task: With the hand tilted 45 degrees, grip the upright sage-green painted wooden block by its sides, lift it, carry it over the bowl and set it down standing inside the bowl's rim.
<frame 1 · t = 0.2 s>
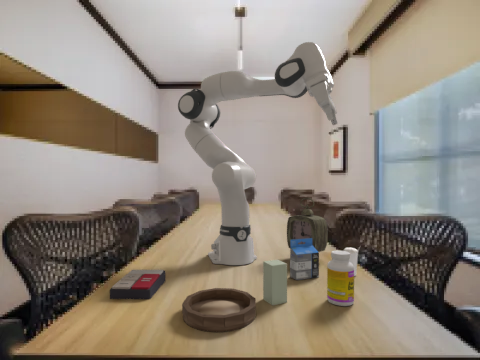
hand: (333, 122, 101), 52 cm above the table, tool tilted 20°, fingers open, 8 cm apart
block: (275, 300, 77), on the table
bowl: (219, 313, 69), on the table
milkshake: (352, 275, 98), on the table
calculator: (139, 291, 85), on the table
supplement bottle: (340, 302, 76), on the table
tabletop clock: (307, 260, 118), on the table
label tape cartridge: (304, 278, 96), on the table
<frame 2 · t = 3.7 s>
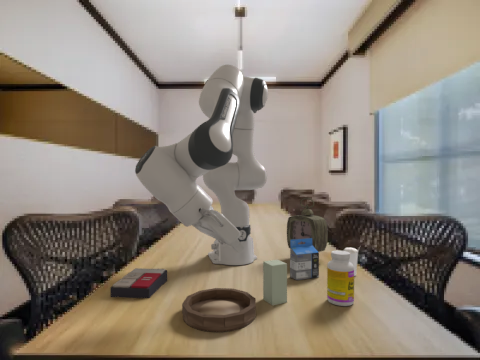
hand: (232, 246, 72), 15 cm above the table, tool tilted 45°, fingers open, 8 cm apart
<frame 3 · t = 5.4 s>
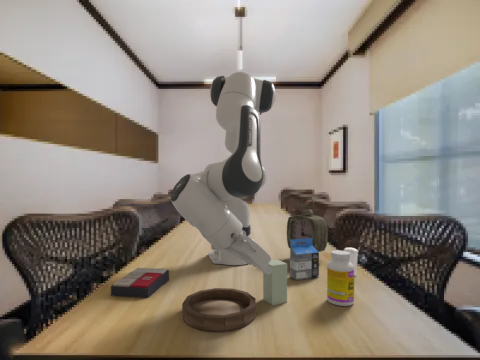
hand: (259, 267, 75), 9 cm above the table, tool tilted 45°, fingers open, 8 cm apart
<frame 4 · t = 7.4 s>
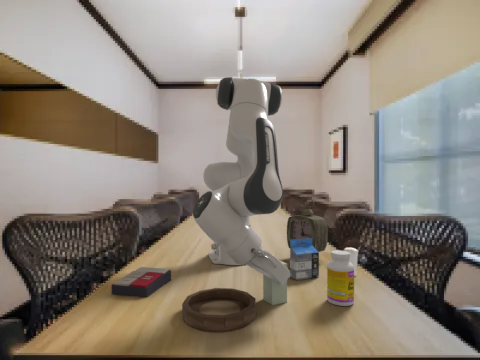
hand: (277, 279, 77), 5 cm above the table, tool tilted 45°, fingers closed on block, 4 cm apart
block: (275, 300, 77), on the table, touching gripper
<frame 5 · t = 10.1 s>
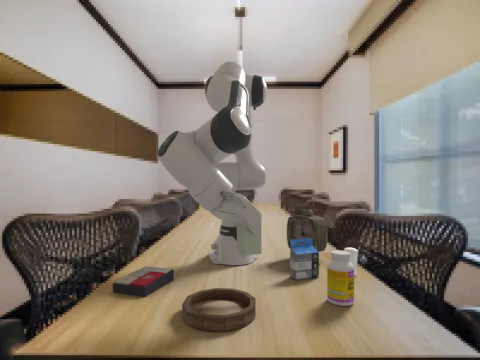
hand: (251, 230, 73), 19 cm above the table, tool tilted 45°, fingers closed on block, 4 cm apart
block: (249, 252, 73), point 14 cm above the table, touching gripper
when the fingers open (7 cm above the table, at t = 13.2 s): block stays where it is, resting on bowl.
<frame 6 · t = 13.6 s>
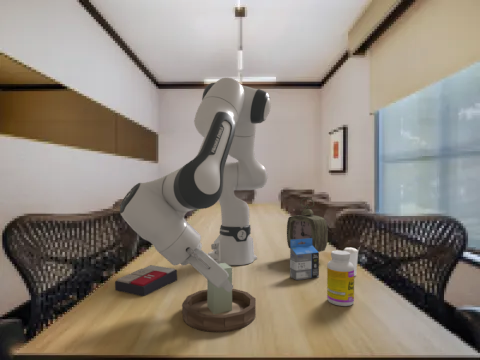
hand: (222, 282, 69), 7 cm above the table, tool tilted 45°, fingers open, 8 cm apart
block: (219, 308, 69), point 1 cm above the table, touching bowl
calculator: (147, 286, 89), on the table
everything else where it was.
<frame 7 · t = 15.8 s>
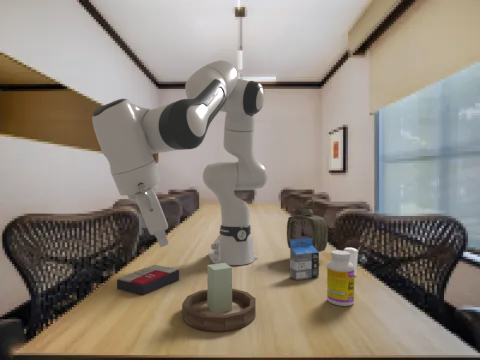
hand: (160, 237, 65), 19 cm above the table, tool tilted 25°, fingers open, 8 cm apart
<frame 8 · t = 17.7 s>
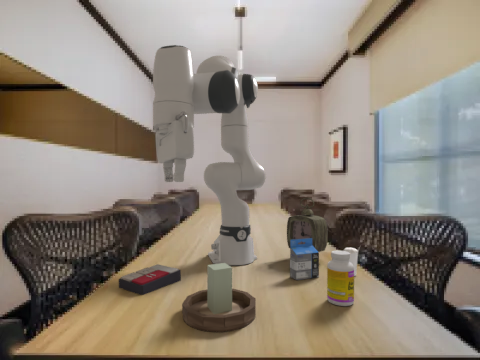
hand: (173, 182, 65), 31 cm above the table, tool pointing down, fingers open, 8 cm apart
at the end: block inside the target area on the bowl (0.1 cm from its centre), point 1.2 cm above the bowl's base; block tilted 0°; the gripper is holding nothing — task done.
